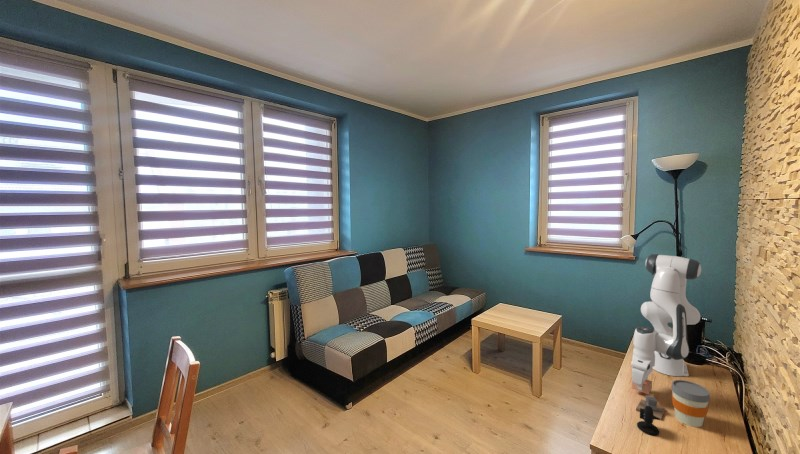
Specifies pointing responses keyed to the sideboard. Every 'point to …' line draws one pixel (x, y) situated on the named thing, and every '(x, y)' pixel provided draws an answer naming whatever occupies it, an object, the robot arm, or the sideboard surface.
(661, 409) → the base
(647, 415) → the webcam
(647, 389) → the pink square socket block
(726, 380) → the sideboard surface
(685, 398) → the reusable coffee cup
